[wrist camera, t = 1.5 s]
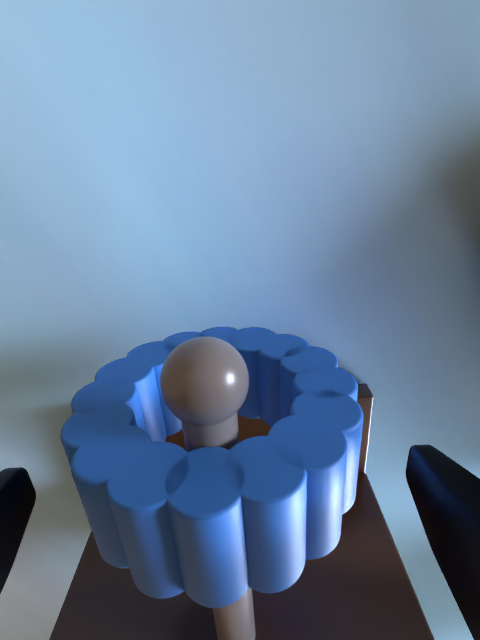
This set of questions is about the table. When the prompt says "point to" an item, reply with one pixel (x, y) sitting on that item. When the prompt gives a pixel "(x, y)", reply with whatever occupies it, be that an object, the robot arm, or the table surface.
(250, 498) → the tape roll
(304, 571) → the hook
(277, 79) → the table surface
